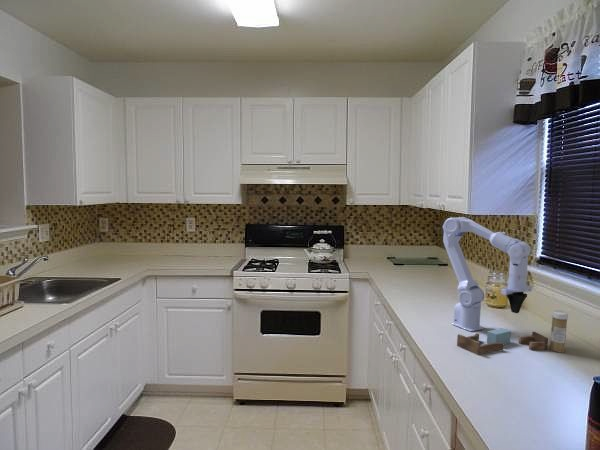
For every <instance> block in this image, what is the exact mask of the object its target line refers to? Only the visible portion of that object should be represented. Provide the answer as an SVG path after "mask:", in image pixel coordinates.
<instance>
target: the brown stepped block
mask: <svg viewBox="0 0 600 450" xmlns="http://www.w3.org/2000/svg"><path fill="white" fill-rule="evenodd" d="M548 341H549V338H548V337H546V336H544V335H542V334H540V333H539V332H536V331H532V334H531V335H524V336H523V335H519V336H518V344H520V345H528V349H529V350H530V351H543V350H545V351H546V350H548V343H549V342H548Z"/></svg>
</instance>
